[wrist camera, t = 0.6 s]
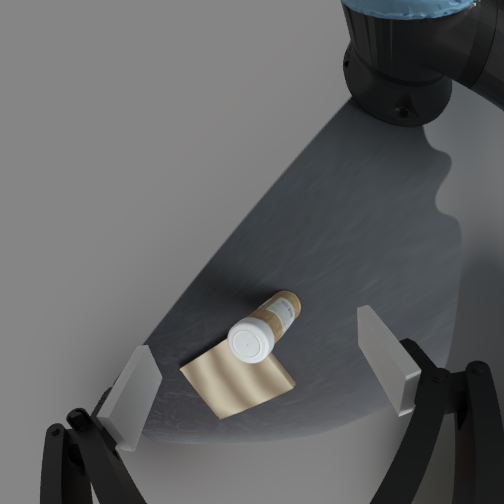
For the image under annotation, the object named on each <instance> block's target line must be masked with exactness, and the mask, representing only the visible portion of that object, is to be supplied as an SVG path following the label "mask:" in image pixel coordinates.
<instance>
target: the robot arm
mask: <svg viewBox="0 0 504 504" xmlns="http://www.w3.org/2000/svg"><path fill="white" fill-rule="evenodd" d="M341 3H342V6H343V10H344V14H345V17H346V22H347V26H348V29H349V34H350V38H351V41H350V43H349V45H348V48H347V50H346V52H345V56H344V60H343V71H344V76H345V80H346V83H347V87H348V89H349V91H350V93H351V95H352V96H353V98H354V99H355V100H356V102H357V103H358V104H359V105H360V106H361V107H362V108H363V109H364V110H366V111H367V112H368V113H370V114H371V115H372V116H374V117H376V118H378V119H380V120H382V121H384V122H387V123H390V124H393V125H398V126H405V127H413V126H420V125H424V124H427V123H429V122H431V121H433V120H435V119H436V118H437V117H438V116H439V115H440V114H441V113H442V112H443V110H444V109H445V107H446V106H447V104H448V102H449V100H450V97H451V92H452V79H453V80H454V81H456V82H458V83H460V84H462V85H464V86H465V87H467V88H468V89H470V90H472V91H474V92H475V93H477V94H478V95H480V96H482V97H483V98H485V99H486V100H488V101H490V102H491V103H493V104H494V105H496V106H497V107H499V108H500V109H502V110H503V111H504V0H341ZM357 319H358V345H359V347H360V348H361V350H362V352H363V354H364V355H365V357H366V359H367V361H368V362H369V364H370V366H371V368H372V369H373V371H374V373H375V375H376V376H377V378H378V380H379V382H380V383H381V385H382V387H383V389H384V391H385V392H386V394H387V396H388V398H389V400H390V402H391V403H392V405H393V407H394V409H395V411H396V413H397V414H398V416H401V415H404V414H406V413H409V412H411V411H413V407H414V403H415V405H416V407H415V410H414V413H413V415H412V418H411V420H410V423H409V426H408V428H407V431H406V433H405V435H404V438H403V440H402V442H401V445H400V447H399V449H398V451H397V453H396V456H395V458H394V460H393V462H392V464H391V466H390V468H389V470H388V472H387V474H386V476H385V478H384V479H383V481H382V483H381V485H380V487H379V488H378V490H377V492H376V494H375V495H374V497H373V499H372V501H371V502H370V504H411V503H412V501H413V499H414V496H415V494H416V492H417V490H418V487H419V485H420V483H421V481H422V478H423V476H424V474H425V471H426V468H427V466H428V463H429V460H430V457H431V455H432V452H433V449H434V446H435V443H436V440H437V437H438V434H439V430H440V427H441V423H442V420H443V416H444V414H450V413H454V421H455V474H454V488H453V498H452V504H504V431H503V425H502V419H501V414H500V409H499V404H498V399H497V394H496V390H495V386H494V382H493V379H492V375H491V372H490V368H489V366H488V365H487V364H486V363H485V362H482V361H473V362H471V363H469V364H468V365H467V367H466V370H465V371H462V372H457V373H450V372H449V371H448V370H446V369H444V368H437V367H436V366H435V364H434V363H433V362H432V361H431V360H430V358H429V357H428V356H427V355H426V354H425V353H424V351H423V350H422V349H420V347H419V346H418V345H417V343H416V342H414V341H412V340H410V339H408V338H407V339H404V340H401V341H398V340H397V339H396V337H395V336H394V335H393V334H392V332H391V331H390V330H389V329H388V328H387V326H386V325H385V324H384V323H383V322H382V320H381V319H380V318H379V317H378V316H377V314H376V313H375V312H374V311H373V310H372V308H371V307H370V306H369V305H366V306H362V307H359V308H357ZM161 380H162V376H161V374H160V371H159V369H158V367H157V365H156V363H155V361H154V358H153V356H152V354H151V352H150V349H149V347H148V345H144V346H137V348H136V350H135V351H134V353H133V355H132V356H131V358H130V359H129V361H128V363H127V364H126V366H125V368H124V369H123V371H122V373H121V374H120V376H119V378H118V380H117V381H116V383H115V385H114V386H113V387H110V388H109V389H108V390H107V391H105V392H104V394H103V395H102V397H101V400H99V402H98V404H97V406H96V407H95V409H94V411H93V412H92V414H91V416H89V414H88V413H87V412H86V410H85V409H83V408H76V409H74V410H72V411H71V412H70V413H69V414H68V415H67V418H66V420H67V422H68V423H69V424H70V426H71V427H72V428H73V429H65V428H64V426H63V425H62V424H60V423H56V424H53V425H51V426H50V427H49V428H48V429H47V432H46V437H45V444H44V452H43V460H42V471H41V486H40V504H93V501H92V492H91V484H92V486H93V489H94V491H95V494H96V496H97V498H98V501H99V503H100V504H147V503H146V502H145V500H144V498H143V497H142V495H141V494H140V492H139V490H138V489H137V487H136V485H135V484H134V482H133V480H132V478H131V476H130V475H129V473H128V471H127V469H126V467H125V465H124V464H123V461H122V459H121V457H120V456H119V453H118V452H117V451H116V449H115V447H116V445H117V444H118V445H119V447H120V448H121V449H122V450H125V451H133V452H134V451H135V448H136V445H137V442H138V440H139V437H140V434H141V432H142V429H143V426H144V424H145V421H146V419H147V416H148V413H149V411H150V408H151V406H152V403H153V400H154V398H155V395H156V393H157V390H158V388H159V385H160V383H161ZM90 481H91V482H90Z"/></svg>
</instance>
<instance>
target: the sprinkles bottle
mask: <svg viewBox="0 0 504 504" xmlns="http://www.w3.org/2000/svg"><path fill="white" fill-rule="evenodd" d="M300 311H301V304H300V301H299V299H298V297H297V296H296V295H295V294H293V293H292V292H289V291H279V292H277V293H276V294H274V295H273V296H272V298H270V299H269V300H267V301H266V302H265V303H263V304H262V305H261V306H260V307H259V308H258V309H257V310H256V311H254V312H253V313H252V314H251V315H249V316H248V317H247V318H244V319H242V320H240V321H239V322H237V323H236V324H235V325H234V326H233V327H232V328H231V329H230V331H229V333H228V337H227V342H228V346H229V348H230V350H231V352H232V353H233V355H234V356H235V357H236V358H238V359H239V360H241V361H243V362H246V363H258V362H260V361H262V360H263V359H265V358H266V356H267V355H268V354H269V353H270V352H271V350H272V349H273V346H274V344H275V343H276V342H277V341H278V340H279V339H280V338H281V337H282V335H283V334H284V333H285V331H286V330H287V329H288V328H289V326H290V325H291V324H292V322H293V320H294V319H296V318H297V317H298V315H299V313H300Z"/></svg>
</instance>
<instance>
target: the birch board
mask: <svg viewBox="0 0 504 504" xmlns="http://www.w3.org/2000/svg"><path fill="white" fill-rule="evenodd" d="M180 370H181V371H182V372H183V374H184V375H185V376H186V378H187V379H188V380H189V382H190V383H191V384H192V385H193V387H194V388H195V389H196V391H197V392H198V393H199V394H200V396H201V397H202V398H203V399H204V401H205V402H206V403H207V404H208V406H209V407H210V408H211V409H212V410H213V412H214V413H215V414H216V415H217V416H218V417H219V419H222V418H225V417H228V416H230V415H233V414H236V413H238V412H241V411H243V410H246V409H248V408H251V407H253V406H255V405H258V404H260V403H262V402H265V401H267V400H269V399H272V398H274V397H276V396H278V395H280V394H283V393H285V392H287V391H289V390H291V389H293V388H294V386H295V384H296V383H295V382H294V380H293V379H292V378H291V377H290V375H289V374H288V373H287V372H286V370H285V369H284V368H283V366H282V365H281V364H280V363H279V361H278V360H277V359H276V357H275V356H274V355H273V354H272V352H270V353H269V354H268V355H267V356H266V358H265V359H263V360H262V361H260V362H258V363H246V362H243V361H241V360H239V359H238V358H236V357H235V356H234V355H233V353H232V352H231V350H230V348H229V346H228V342H227V339H225V340H224V341H222V342H221V343H219V344H218V345H216V346H215V347H213V348H211V349H210V350H208V351H207V352H205V353H204V354H202V355H201V356H199V357H198V358H196V359H194V360H193V361H191V362H190V363H188V364H187V365H185V366H184V367H182V368H181V369H180Z"/></svg>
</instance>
